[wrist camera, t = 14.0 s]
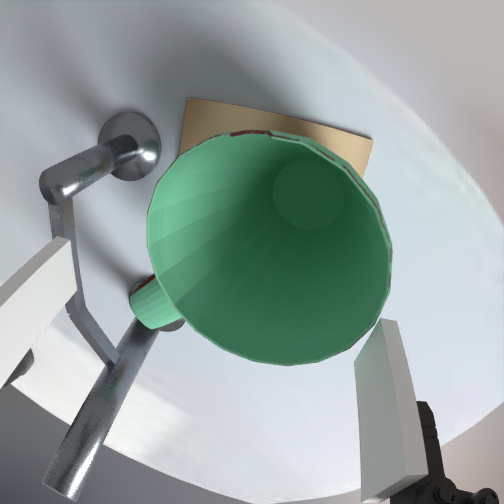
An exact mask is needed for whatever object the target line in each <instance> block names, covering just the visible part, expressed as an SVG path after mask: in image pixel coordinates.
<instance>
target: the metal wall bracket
mask: <svg viewBox="0 0 504 504" xmlns="http://www.w3.org/2000/svg"><path fill="white" fill-rule="evenodd" d="M160 153H161V141H160V137H159V134H158V131H157V129H156V128H155V126H154V125H153V123H152V122H151V121H150V120H149V119H147V118H146V117H145V116H143V115H141V114H138V113H134V112H127V113H122V114H119V115H116V116H114V117H112V118H110V119H109V120H108V121H107V122H106V123H105V124H104V126H103V127H102V129H101V131H100V134H99V138H98V145H97V146H94V147H92V148H90V149H88V150H85V151H83V152H81V153H79V154H77V155H75V156H72V157H70V158H68V159H66V160H64V161H62V162H60V163H58V164H56V165H54V166H52V167H50V168H48V169H46V170H44V171H43V172H42V174H41V176H40V179H39V187H40V191H41V193H42V195H43V197H44V199H45V200H46V201H47V202H48V206H49V215H50V223H51V231H52V238H53V239H54V238H56V237H57V236H59V237H62V238H65V239H69V240H70V242H71V250H72V258H73V265H74V272H75V279H76V285H77V291H76V292H75V293H74V294H73V296H72V297H71V298H70V299H69V300H68V301H67V303H66V304H65V306H66V310H67V313H69V314H70V315H69V317H70V319H71V320H72V322H73V323H74V324H75V326H76V327H77V328H78V330H79V331H80V333H81V334H82V335H83V337H84V338H85V339H86V341H87V342H88V343H89V344H90V346H91V347H92V348H93V350H94V351H95V352H96V353H97V355H98V356H99V357H100V358H101V360H102V361H103V362H104V363H105V367H104V369H103V370H102V372H101V374H100V375H99V377H98V379H97V380H96V382H95V384H94V386H93V387H92V389H91V391H90V393H89V394H88V396H87V398H86V400H85V401H84V403H83V405H82V407H81V408H80V410H79V412H78V414H77V416H76V417H75V419H74V421H73V423H72V425H71V426H70V428H69V430H68V432H67V434H66V436H65V438H64V439H63V441H62V443H61V445H60V447H59V449H58V451H57V453H56V455H55V456H54V459H53V461H52V463H51V464H50V466H49V468H48V470H47V473H46V474H45V476H44V478H43V480H42V483H44V484H45V485H46V486H48V487H49V488H51V489H52V490H54V491H56V492H57V493H59V494H61V495H62V496H64V497H66V498H68V499H70V500H72V501H74V502H76V501H77V499H78V497H79V494H80V492H81V490H82V488H83V485H84V483H85V481H86V479H87V477H88V474H89V472H90V470H91V468H92V466H93V464H94V461H95V459H96V457H97V455H98V453H99V451H100V449H101V446H102V444H103V442H104V440H105V438H106V436H107V434H108V432H109V430H110V428H111V426H112V424H113V421H114V419H115V417H116V415H117V413H118V411H119V409H120V407H121V405H122V403H123V401H124V399H125V397H126V395H127V393H128V391H129V389H130V387H131V385H132V383H133V381H134V379H135V377H136V375H137V373H138V371H139V370H140V368H141V366H142V364H143V362H144V360H145V358H146V356H147V354H148V352H149V350H150V348H151V346H152V345H153V343H154V341H155V339H156V337H157V335H158V333H159V331H165V332H170V331H175V330H177V329H179V328H181V327H182V326H183V324H184V322H185V319H184V318H183V317H181V318H179V319H177V320H176V321H174V322H171V323H169V324H167V325H164V326H162V327H159V328H157V329H150V328H148V327H146V326H145V325H144V324H143V323H142V322H141V321H140V320H139V319H138V318H137V317H135V318H134V320H133V321H132V323H131V325H130V326H129V328H128V329H127V331H126V333H125V334H124V336H123V337H122V339H121V341H120V342H119V344H118V345H117V347H116V348H115V347H114V346H113V344H112V343H111V342H110V340H109V339H108V338H107V336H106V335H105V334H104V332H103V331H102V329H101V328H100V327H99V325H98V324H97V322H96V321H95V320H94V318H93V317H92V315H91V314H90V312H89V311H88V309H87V308H86V305H85V300H84V294H83V288H82V282H81V276H80V269H79V262H78V254H77V246H76V237H75V227H74V215H73V201H72V196H74V195H75V194H77V193H78V192H80V191H81V190H83V189H85V188H86V187H88V186H89V185H91V184H92V183H94V182H96V181H97V180H99V179H101V178H102V177H104V176H105V175H107V174H109V173H111V174H112V175H113V176H115V177H116V178H119V179H121V180H125V181H135V180H138V179H141V178H143V177H144V176H146V175H147V174H149V173H150V172H151V171H152V170H153V169H154V168H155V166H156V165H157V163H158V161H159V158H160ZM144 281H145V280H142V281H140V282H138V283H137V284H136V285H135V286H134V287H133V289H132V290H131V292H130V294H129V304H130V296H131V294H132V293H133V291H134V290H135V288H136V287H137V286H139V285H140V284H141V283H143V282H144ZM130 307H131V304H130ZM131 309H132V308H131ZM132 311H133V310H132ZM133 313H134V312H133Z"/></svg>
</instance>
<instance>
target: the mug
mask: <svg viewBox="0 0 504 504" xmlns="http://www.w3.org/2000/svg"><path fill="white" fill-rule="evenodd" d="M147 248H148V252H149V256H150V259H151V263H152V266H153V270H154V274H153V275H152V276H150V277H149V278H148V279H147V280H145V281H144V282H143V283H141V284H140V285H139V286H137V287H136V288H135V290H134V291H133V293H132V294H131V296H130V304H131V308H132V310H133V312H134V314H135V315H136V317H137V318H138V319H139V320H140V321H141V322H142V323H143V324H144V325H145V326H146V327H148V328H150V329H157V328H159V327H162V326H164V325H167V324H169V323H171V322H174V321H176V320H177V319H179V318H181V317H183V318H184V319H185V320H186V322H187V323H188V324H189V325H190V326H191V327H192V328H193V329H194V330H195V331H196V332H198V333H199V334H201V335H202V336H204V337H205V338H207V339H208V340H209V341H211V342H212V343H214V344H215V345H217V346H218V347H220V348H221V349H223V350H225V351H228V352H230V353H233V354H235V355H238V356H240V357H243V358H246V359H248V360H251V361H253V362H260V363H267V364H274V365H281V366H293V365H301V364H309V363H317V362H321V361H323V360H325V359H328V358H330V357H332V356H335V355H337V354H339V353H341V352H343V351H346V350H348V349H350V348H351V347H352V346H353V345H354V344H355V343H356V342H357V341H358V340H359V339H360V338H362V337H363V336H364V335H365V334H366V333H367V332H368V331H369V330H370V329H371V328H372V327H373V326H374V325H375V323H376V321H377V319H378V317H379V315H380V313H381V310H382V308H383V306H384V304H385V302H386V300H387V298H388V295H389V293H390V286H391V272H392V253H393V250H392V242H391V239H390V236H389V232H388V229H387V226H386V223H385V220H384V217H383V214H382V211H381V208H380V205H379V202H378V199H377V198H376V196H375V195H374V194H373V192H372V191H371V190H370V188H369V187H368V186H367V185H366V183H365V182H364V181H363V179H362V178H361V177H360V176H359V174H358V173H357V172H356V171H355V169H354V168H353V167H352V166H351V164H350V163H349V162H347V161H346V160H344V159H343V158H341V157H339V156H338V155H336V154H335V153H333V152H332V151H330V150H329V149H327V148H325V147H324V146H322V145H321V144H319V143H317V142H316V141H314V140H313V139H311V138H307V137H302V136H298V135H293V134H288V133H282V132H277V131H272V130H263V131H262V130H242V131H234V132H228V133H221V134H217V135H213V136H211V137H210V138H208V139H206V140H204V141H202V142H201V143H199V144H197V145H195V146H193V147H192V148H190V149H188V150H186V151H185V152H183V153H181V154H180V155H179V156H178V157H177V158H176V159H175V161H174V162H173V163H172V164H171V165H170V167H169V168H168V169H167V170H166V172H165V173H164V174H163V175H162V177H161V178H160V179H159V180H158V182H157V185H156V188H155V191H154V193H153V196H152V199H151V202H150V206H149V209H148V212H147Z"/></svg>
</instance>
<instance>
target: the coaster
mask: <svg viewBox="0 0 504 504" xmlns="http://www.w3.org/2000/svg"><path fill="white" fill-rule="evenodd" d="M242 130H262V131H263V130H272V131H277V132H282V133H288V134H293V135H298V136H302V137H307V138H311V139H313V140H314V141H316V142H317V143H319V144H321V145H322V146H324V147H325V148H327V149H329V150H330V151H332V152H333V153H335V154H336V155H338V156H339V157H341V158H343V159H344V160H346V161H347V162H349V163H350V164H351V166H352V167H353V168H354V169H355V171H356V172H357V173H358V174H359V176H360V177H361V178H363V175H364V171H365V168H366V165H367V162H368V159H369V156H370V152H371V149H372V146H373V143H374V141H373V140H371V139H368V138H365V137H361V136H358V135H355V134H352V133H348V132H345V131H342V130H338V129H335V128H331V127H328V126H324V125H321V124H317V123H313V122H309V121H305V120H302V119H298V118H293V117H289V116H285V115H281V114H276V113H272V112H267V111H263V110H258V109H253V108H248V107H243V106H238V105H232V104H226V103H221V102H215V101H208V100H202V99H195V98H187V101H186V107H185V114H184V121H183V128H182V136H181V144H180V152H179V155H180V154H181V153H183V152H185V151H186V150H188V149H190V148H192V147H193V146H195V145H197V144H199V143H201V142H202V141H204V140H206V139H208V138H210V137H211V136H213V135H217V134H221V133H228V132H234V131H242Z"/></svg>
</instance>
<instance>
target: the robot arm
mask: <svg viewBox="0 0 504 504" xmlns="http://www.w3.org/2000/svg"><path fill="white" fill-rule="evenodd" d="M76 291H77V285H76V279H75V272H74V265H73V258H72V250H71V242H70V240H69V239H65V238H62V237H59V236H57V237H56V238H54V239H53V240H52V241H51V242H50V243H48V244H47V245H46V246H45V247H44V248H43V249H41V250H40V251H39V252H38V253H37V254H36V255H35V256H33V257H32V258H31V259H30V260H29V261H28V262H27V263H26V264H25V265H23V266H22V267H21V268H20V269H19V270H18V271H17V272H16V273H15V274H14V275H13V276H12V277H11V278H10V279H9V280H7V281H6V282H5V283H4V284H3V285H2V286H1V287H0V391H1V390H2V389H3V388H4V387H5V386H7V385H9V384H10V383H12V382H13V381H14V380H16V379H17V378H18V377H20V376H22V375H24V374H26V373H27V371H28V370H29V369H30V367H31V366H32V365H33V363H34V357H33V354H32V351H31V349H30V348H31V346H32V345H33V344H34V342H35V341H36V340H37V339H38V337H39V336H40V335H41V333H42V332H43V331H44V330H45V328H46V327H47V326H48V325H49V323H50V322H51V321H52V320H53V318H54V317H55V316H56V315H57V313H58V312H59V311H60V310H61V309H62V307H63V306H64V305H65V304H66V303H67V301H68V300H69V299H70V298H71V297H72V296H73V294H74V293H75V292H76ZM354 369H355V379H356V391H357V404H358V419H359V436H360V461H361V503H375V502H382V501H384V500H386V499H388V498H390V504H499V499H498V496H497V494H496V493H495V492H494V491H493V490H492V489H490V488H484V489H481V490H479V491H478V492H476V493H471V492H467V491H462V490H459V489H457V488H456V486H455V484H454V483H453V482H452V481H451V480H450V479H448V478H446V477H445V474H444V469H443V462H442V456H441V450H440V445H439V440H438V438H437V436H438V434H437V429H436V428H435V426H436V425H435V420H434V415H433V412H432V411H431V409H430V407H429V406H428V404H427V402H423V401H416V398H415V393H414V388H413V384H412V379H411V375H410V371H409V367H408V363H407V358H406V355H405V351H404V347H403V343H402V339H401V335H400V332H399V328H398V325H397V321H393V320H388V319H383V318H380V319H379V321H378V323H377V324H376V326H375V328H374V330H373V331H372V333H371V335H370V336H369V338H368V340H367V342H366V343H365V345H364V347H363V348H362V350H361V351H360V353H359V355H358V356H357V358H356V360H355V361H354Z"/></svg>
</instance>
